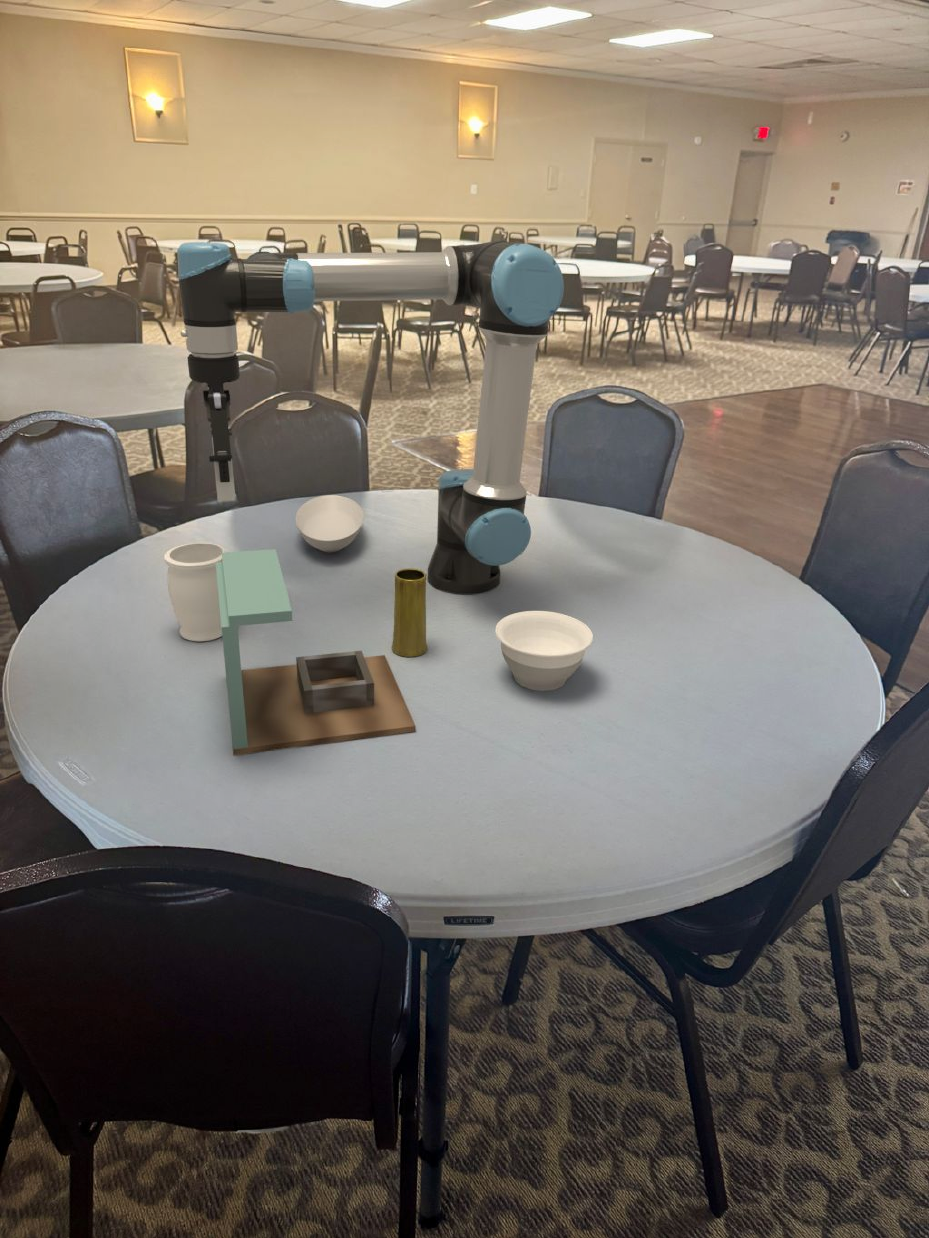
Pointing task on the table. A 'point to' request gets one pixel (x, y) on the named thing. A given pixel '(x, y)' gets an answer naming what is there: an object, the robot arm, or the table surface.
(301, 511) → the bowl
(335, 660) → the socket board
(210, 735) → the table surface
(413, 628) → the vase
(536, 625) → the bowl
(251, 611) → the green l-shaped post
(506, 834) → the table surface
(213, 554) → the jar
